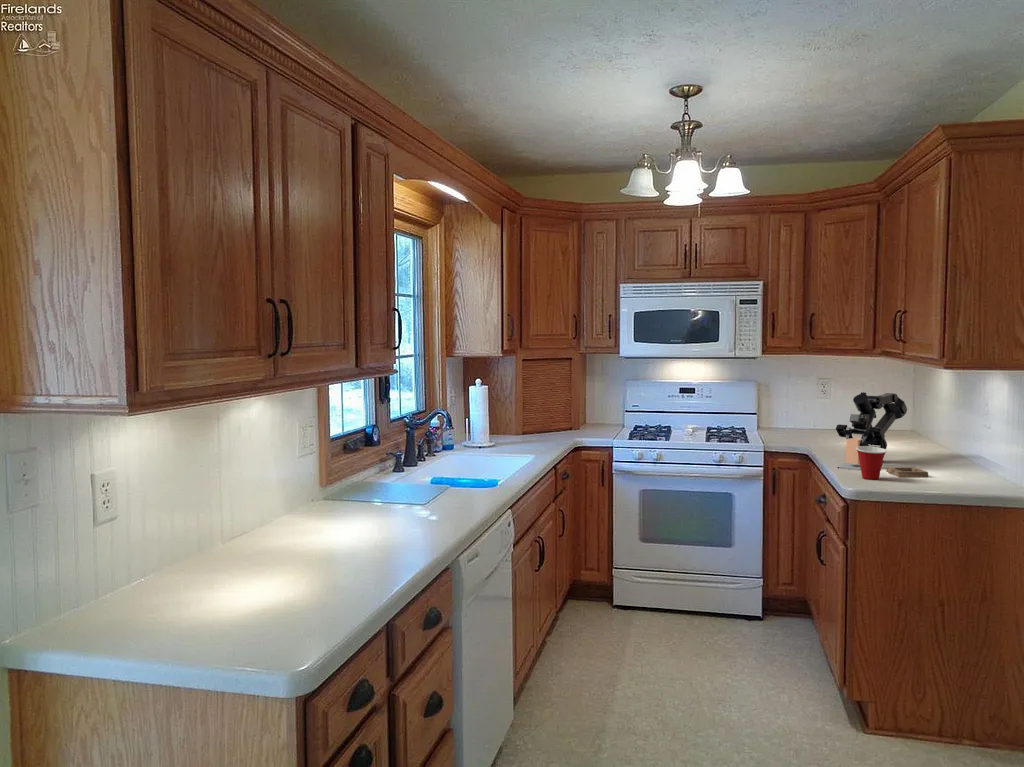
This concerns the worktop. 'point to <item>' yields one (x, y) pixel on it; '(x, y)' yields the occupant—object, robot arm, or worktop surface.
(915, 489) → the worktop surface
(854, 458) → the terracotta block
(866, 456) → the plastic cup
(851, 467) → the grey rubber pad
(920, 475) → the walnut well board
